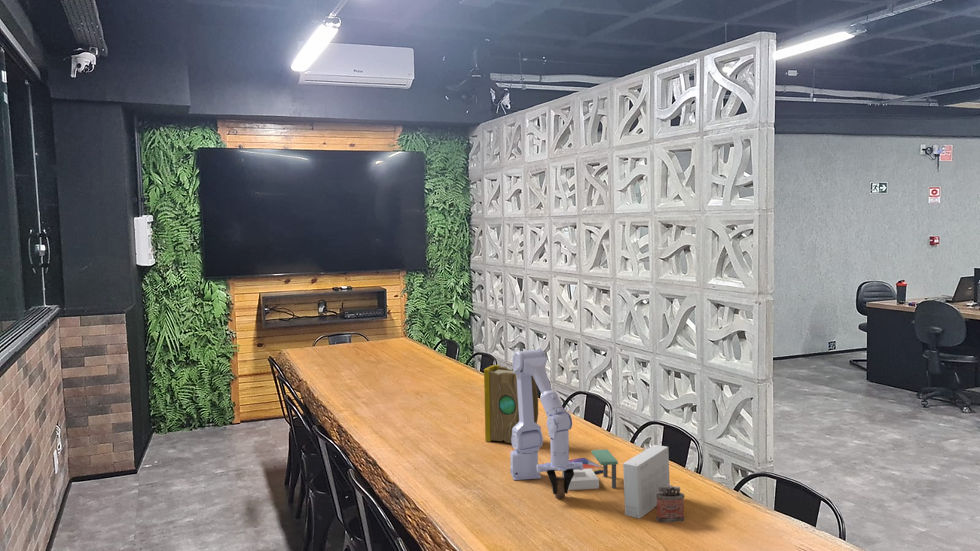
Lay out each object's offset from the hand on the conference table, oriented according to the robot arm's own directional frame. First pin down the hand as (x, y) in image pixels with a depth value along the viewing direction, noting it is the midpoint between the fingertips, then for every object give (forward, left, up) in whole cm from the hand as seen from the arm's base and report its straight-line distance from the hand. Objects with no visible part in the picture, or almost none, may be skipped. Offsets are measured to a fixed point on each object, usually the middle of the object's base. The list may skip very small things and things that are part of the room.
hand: (560, 492), depth 216 cm
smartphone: (+15, +25, -2) cm, 29 cm away
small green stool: (+17, +10, -1) cm, 20 cm away
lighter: (+28, -21, -2) cm, 35 cm away
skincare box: (+25, -10, -2) cm, 27 cm away
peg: (0, 0, -1) cm, 1 cm away
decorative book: (-7, +58, -2) cm, 58 cm away
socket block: (+9, +10, -1) cm, 14 cm away
